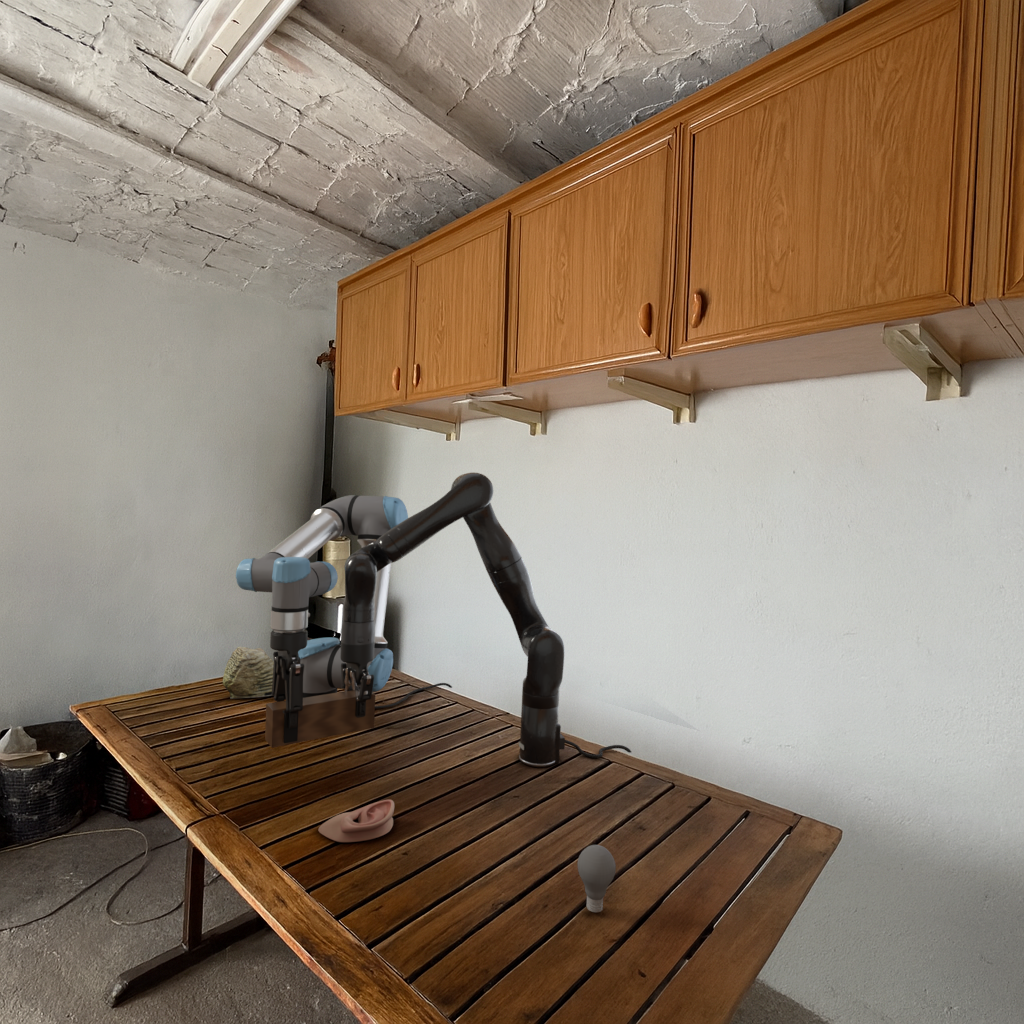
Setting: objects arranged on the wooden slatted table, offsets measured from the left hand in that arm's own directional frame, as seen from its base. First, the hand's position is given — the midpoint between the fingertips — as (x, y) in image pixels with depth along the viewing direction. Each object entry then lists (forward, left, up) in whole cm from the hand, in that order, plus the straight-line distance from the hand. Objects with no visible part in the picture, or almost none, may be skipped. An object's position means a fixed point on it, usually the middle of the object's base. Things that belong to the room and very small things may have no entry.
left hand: (285, 736), depth 136 cm
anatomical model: (-1, +25, -12) cm, 27 cm away
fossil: (-28, -63, -12) cm, 70 cm away
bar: (-8, +2, -1) cm, 8 cm away
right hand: (-15, +4, +2) cm, 16 cm away
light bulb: (-11, +72, -12) cm, 73 cm away
